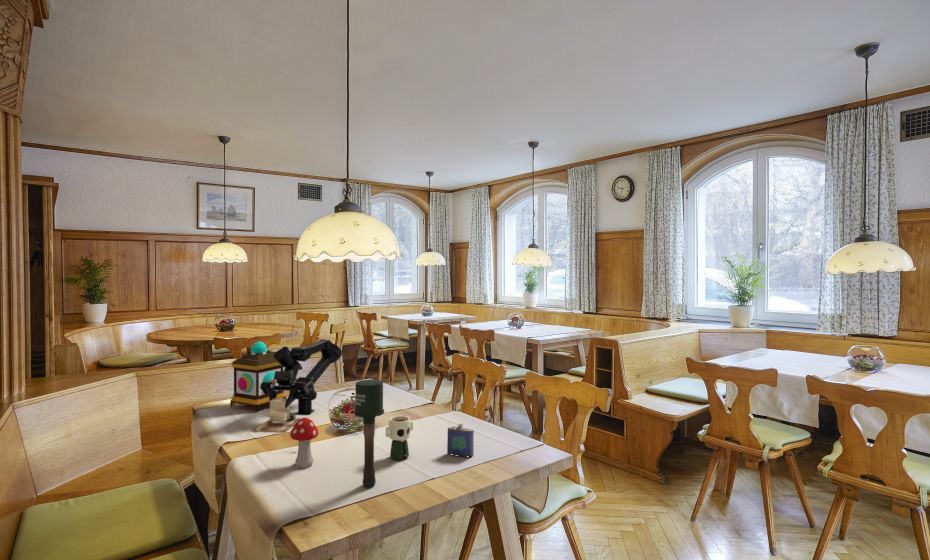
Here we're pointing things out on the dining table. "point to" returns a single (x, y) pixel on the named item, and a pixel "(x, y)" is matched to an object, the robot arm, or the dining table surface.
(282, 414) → the cream rectangular block
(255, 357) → the decorative lantern
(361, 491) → the dining table surface
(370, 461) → the potato masher grenade
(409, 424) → the character mug
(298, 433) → the decorative mushroom
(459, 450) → the flask
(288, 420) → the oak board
